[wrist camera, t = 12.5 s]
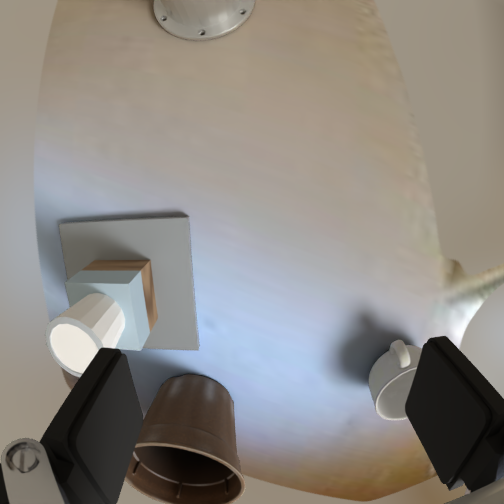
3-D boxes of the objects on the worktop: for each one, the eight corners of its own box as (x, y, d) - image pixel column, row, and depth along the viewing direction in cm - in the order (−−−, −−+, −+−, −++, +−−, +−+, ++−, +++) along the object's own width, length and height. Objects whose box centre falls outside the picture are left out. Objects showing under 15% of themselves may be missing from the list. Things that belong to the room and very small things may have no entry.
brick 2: (80, 270, 34) (64, 282, 30) (140, 270, 34) (128, 283, 31) (93, 329, 37) (80, 345, 33) (150, 332, 37) (140, 350, 33)
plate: (63, 222, 38) (58, 224, 37) (189, 216, 38) (187, 217, 37) (86, 339, 43) (83, 343, 42) (199, 345, 43) (198, 350, 42)
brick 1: (94, 260, 38) (80, 270, 34) (150, 259, 38) (140, 270, 34) (104, 315, 40) (93, 329, 37) (158, 317, 40) (150, 332, 37)
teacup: (419, 379, 46) (438, 408, 38) (361, 398, 47) (375, 431, 39) (424, 310, 42) (450, 336, 35) (358, 329, 43) (377, 361, 35)
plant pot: (140, 418, 48) (115, 490, 32) (150, 348, 43) (115, 427, 28) (231, 441, 49) (227, 516, 34) (258, 377, 45) (263, 463, 29)
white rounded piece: (142, 319, 32) (120, 356, 25) (109, 353, 33) (86, 390, 26) (94, 274, 30) (62, 302, 24) (66, 312, 32) (35, 343, 25)
